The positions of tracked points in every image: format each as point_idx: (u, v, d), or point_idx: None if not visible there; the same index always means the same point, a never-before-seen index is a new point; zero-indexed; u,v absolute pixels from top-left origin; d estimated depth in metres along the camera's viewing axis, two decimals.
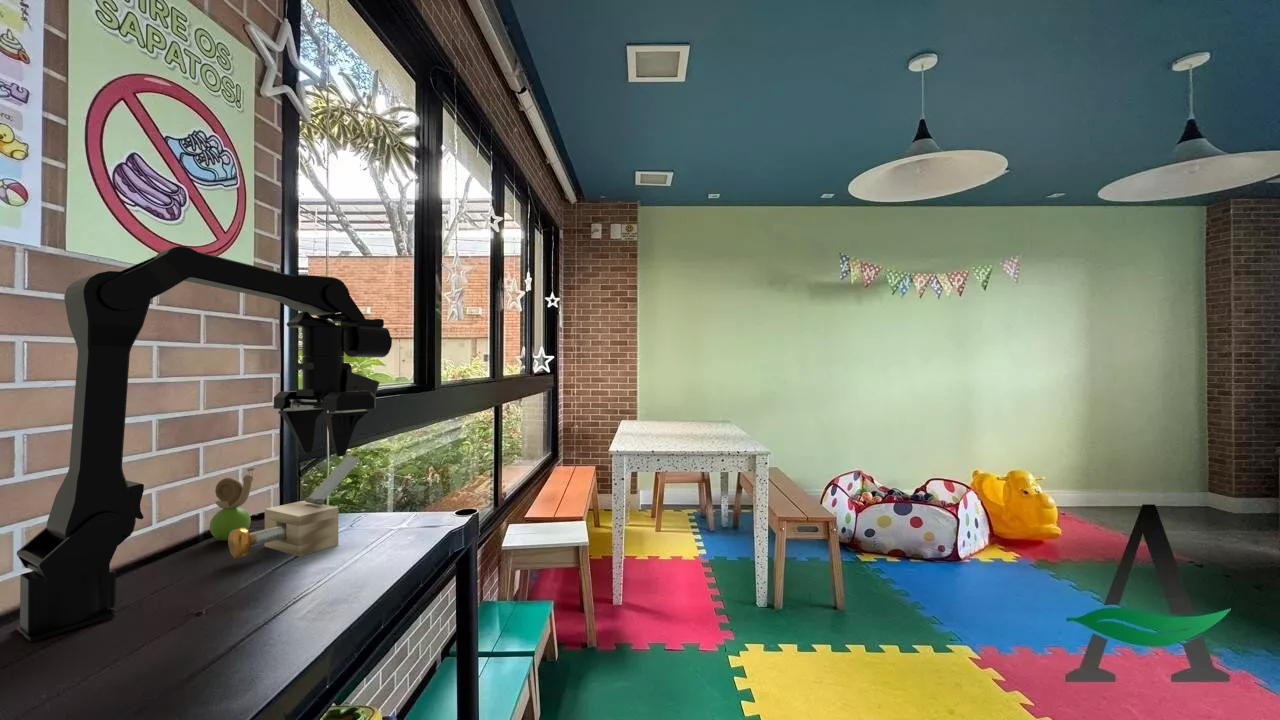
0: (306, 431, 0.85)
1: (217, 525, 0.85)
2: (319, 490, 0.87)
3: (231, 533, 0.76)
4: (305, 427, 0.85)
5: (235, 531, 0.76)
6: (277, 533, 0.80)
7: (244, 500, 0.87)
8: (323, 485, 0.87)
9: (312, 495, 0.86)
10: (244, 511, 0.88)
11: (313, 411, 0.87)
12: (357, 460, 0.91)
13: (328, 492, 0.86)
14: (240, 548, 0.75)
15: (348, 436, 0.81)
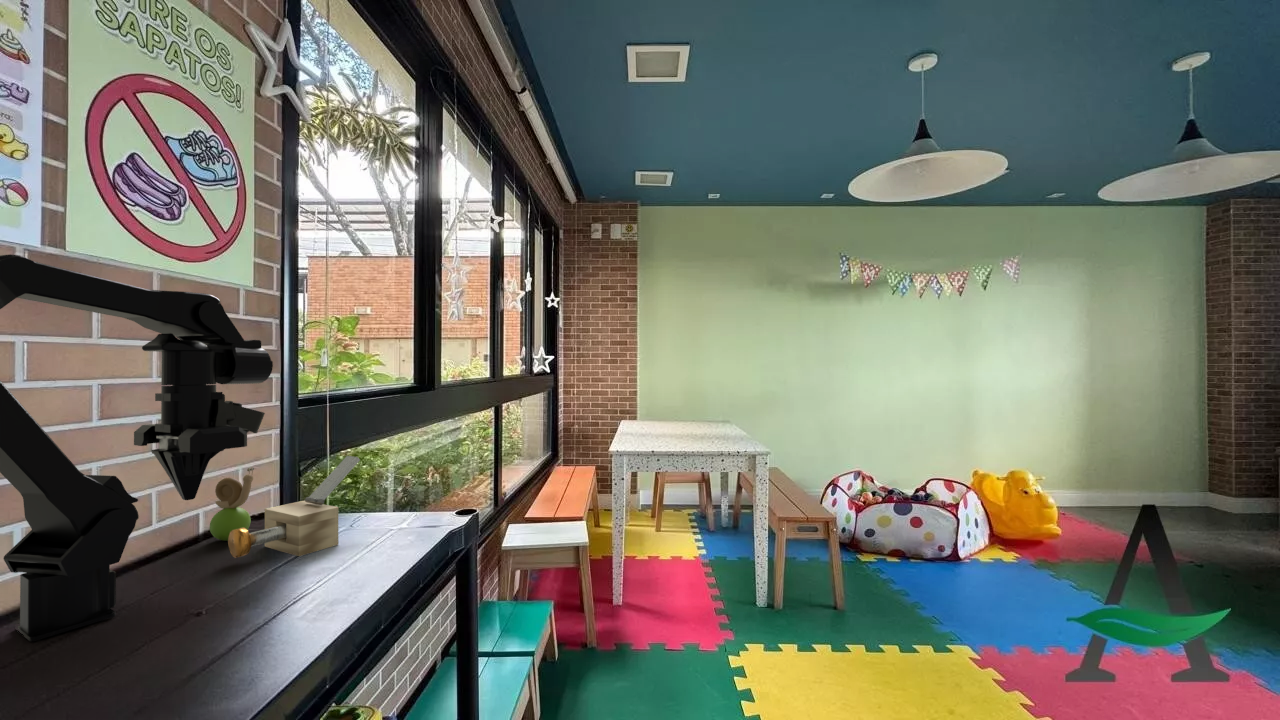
0: None
1: (217, 525, 0.85)
2: (319, 490, 0.87)
3: (231, 533, 0.76)
4: None
5: (235, 531, 0.76)
6: (277, 533, 0.80)
7: (244, 500, 0.87)
8: (323, 485, 0.87)
9: (312, 495, 0.86)
10: (244, 511, 0.88)
11: None
12: (357, 460, 0.91)
13: (328, 492, 0.86)
14: (240, 548, 0.75)
15: (198, 477, 0.71)
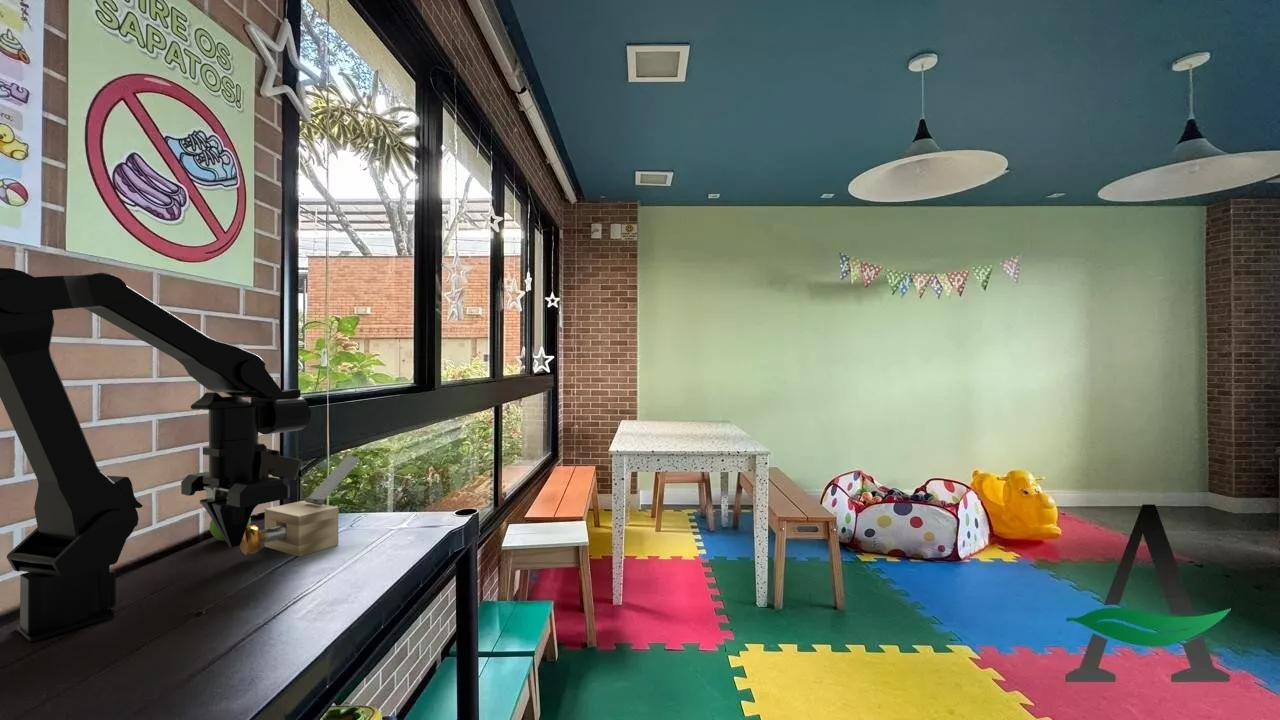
0: None
1: None
2: (319, 490, 0.87)
3: None
4: None
5: (246, 529, 0.77)
6: None
7: None
8: (323, 485, 0.87)
9: (312, 495, 0.86)
10: None
11: None
12: (357, 460, 0.91)
13: (328, 492, 0.86)
14: (250, 545, 0.76)
15: (243, 525, 0.76)
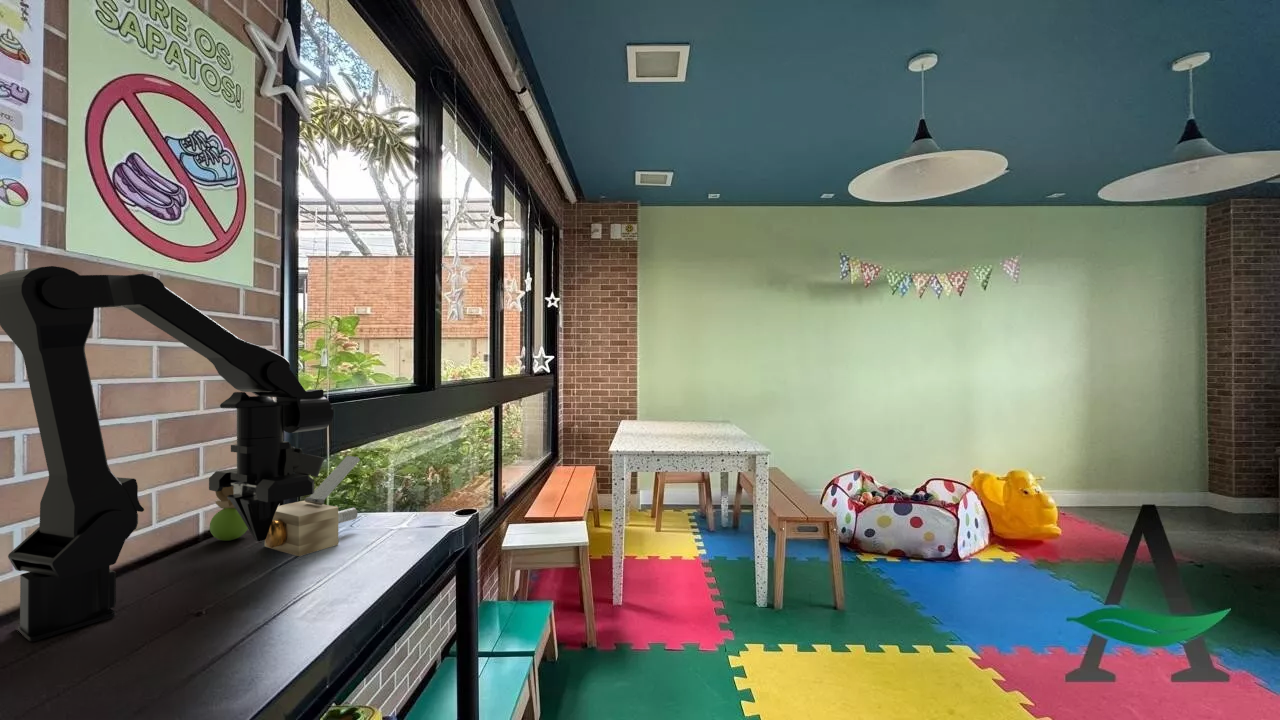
0: None
1: (217, 525, 0.85)
2: (319, 490, 0.87)
3: None
4: None
5: None
6: None
7: None
8: (323, 485, 0.87)
9: (312, 495, 0.86)
10: None
11: None
12: (357, 460, 0.91)
13: (328, 492, 0.86)
14: (276, 539, 0.79)
15: (269, 520, 0.79)
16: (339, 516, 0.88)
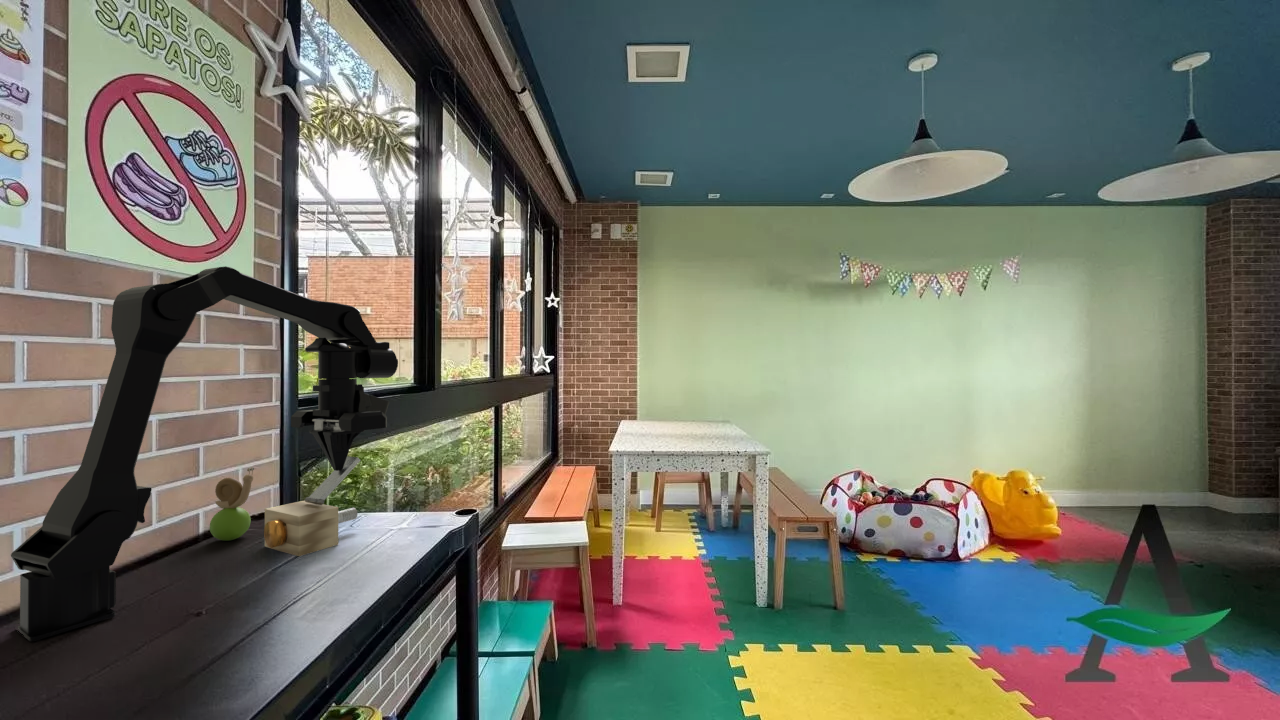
0: None
1: (217, 525, 0.85)
2: (319, 490, 0.87)
3: (267, 524, 0.80)
4: None
5: (271, 522, 0.80)
6: None
7: (244, 500, 0.87)
8: (323, 486, 0.87)
9: (312, 495, 0.86)
10: (244, 511, 0.88)
11: None
12: (357, 460, 0.91)
13: (328, 492, 0.86)
14: (276, 539, 0.79)
15: (345, 452, 0.89)
16: (339, 516, 0.88)
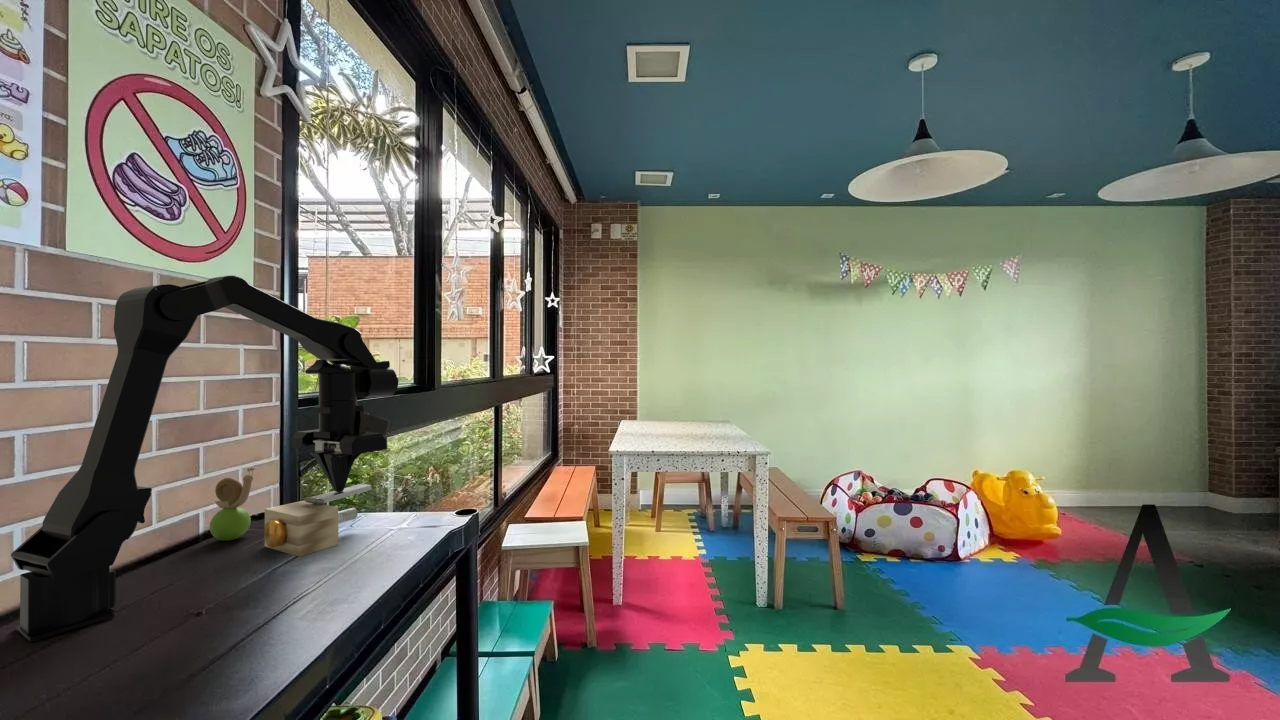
0: None
1: (217, 525, 0.85)
2: (324, 495, 0.87)
3: (267, 524, 0.80)
4: None
5: (271, 522, 0.80)
6: None
7: (244, 500, 0.87)
8: (328, 493, 0.88)
9: (315, 496, 0.87)
10: (244, 511, 0.88)
11: None
12: (369, 488, 0.92)
13: (331, 498, 0.86)
14: (276, 539, 0.79)
15: (346, 473, 0.89)
16: (339, 516, 0.88)
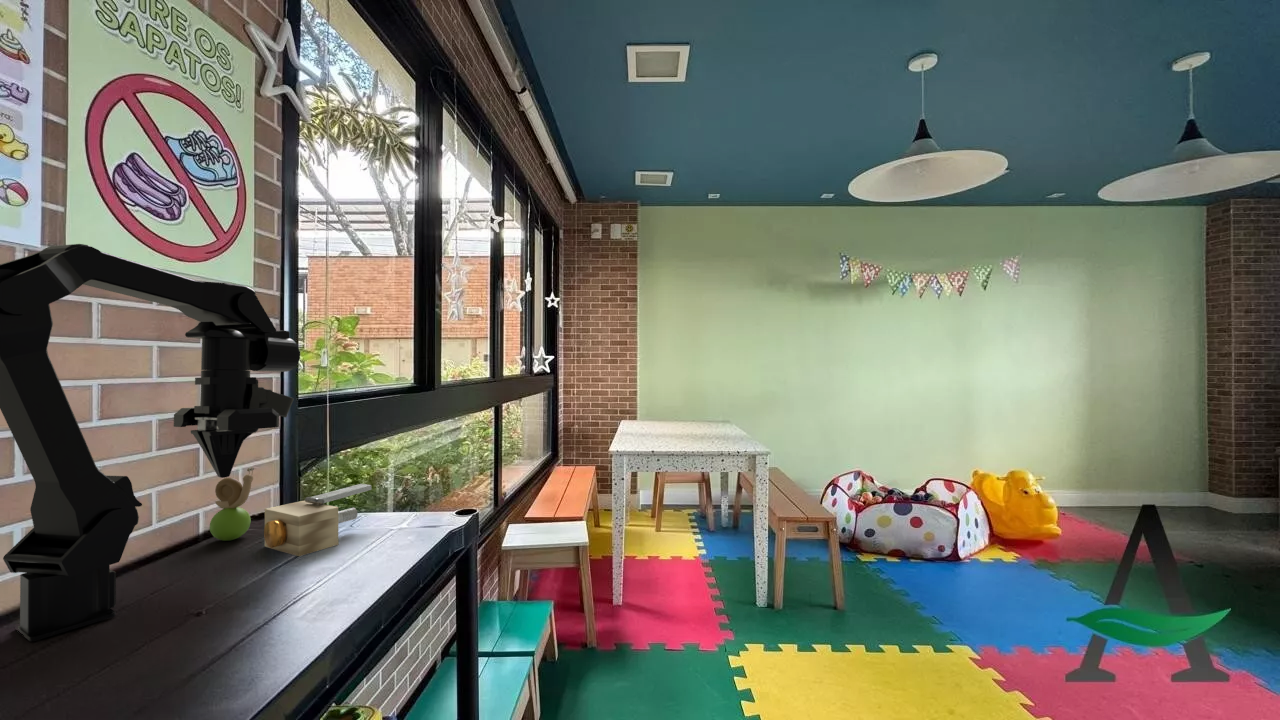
0: None
1: (217, 525, 0.85)
2: (324, 495, 0.87)
3: (267, 524, 0.80)
4: None
5: (271, 522, 0.80)
6: None
7: (244, 500, 0.87)
8: (328, 493, 0.88)
9: (315, 496, 0.87)
10: (244, 511, 0.88)
11: None
12: (369, 488, 0.92)
13: (331, 498, 0.86)
14: (276, 539, 0.79)
15: (233, 456, 0.76)
16: (339, 516, 0.88)
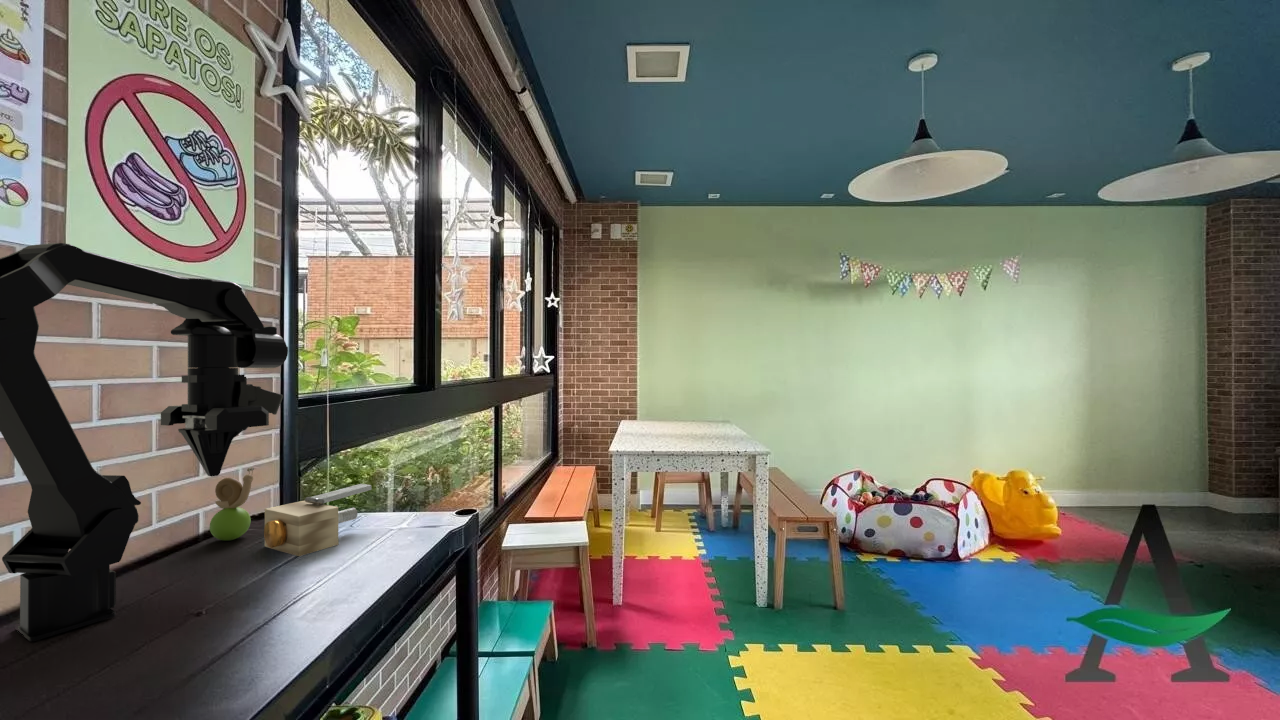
0: None
1: (217, 525, 0.85)
2: (324, 495, 0.87)
3: (267, 524, 0.80)
4: None
5: (271, 522, 0.80)
6: None
7: (244, 500, 0.87)
8: (328, 493, 0.88)
9: (315, 496, 0.87)
10: (244, 511, 0.88)
11: None
12: (369, 488, 0.92)
13: (331, 498, 0.86)
14: (276, 539, 0.79)
15: (222, 454, 0.75)
16: (339, 516, 0.88)
